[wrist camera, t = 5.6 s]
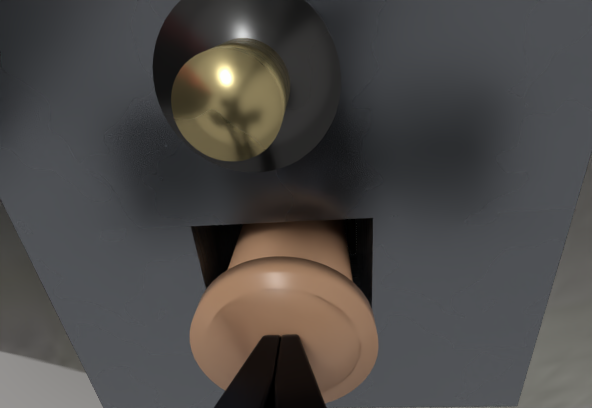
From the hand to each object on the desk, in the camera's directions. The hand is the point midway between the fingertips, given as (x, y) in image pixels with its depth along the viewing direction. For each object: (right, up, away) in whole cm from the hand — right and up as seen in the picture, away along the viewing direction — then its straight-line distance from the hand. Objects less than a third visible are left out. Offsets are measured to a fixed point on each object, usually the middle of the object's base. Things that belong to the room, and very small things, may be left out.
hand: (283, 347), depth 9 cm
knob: (0, +3, +5) cm, 6 cm away
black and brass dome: (0, +6, -1) cm, 6 cm away
